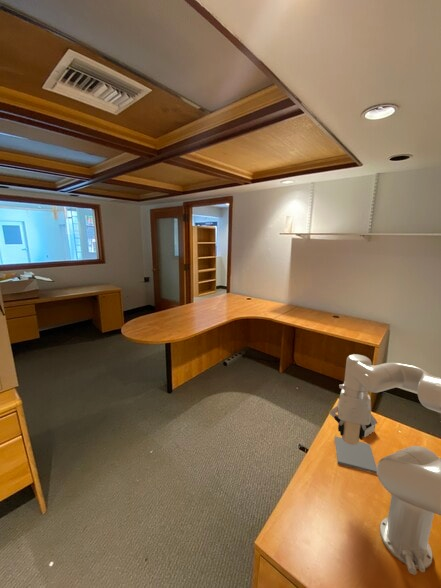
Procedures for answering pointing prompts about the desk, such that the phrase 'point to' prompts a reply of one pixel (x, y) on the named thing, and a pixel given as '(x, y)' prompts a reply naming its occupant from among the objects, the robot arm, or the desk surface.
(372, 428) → the small box
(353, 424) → the candle
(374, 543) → the desk surface
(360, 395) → the robot arm
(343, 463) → the slate coaster
